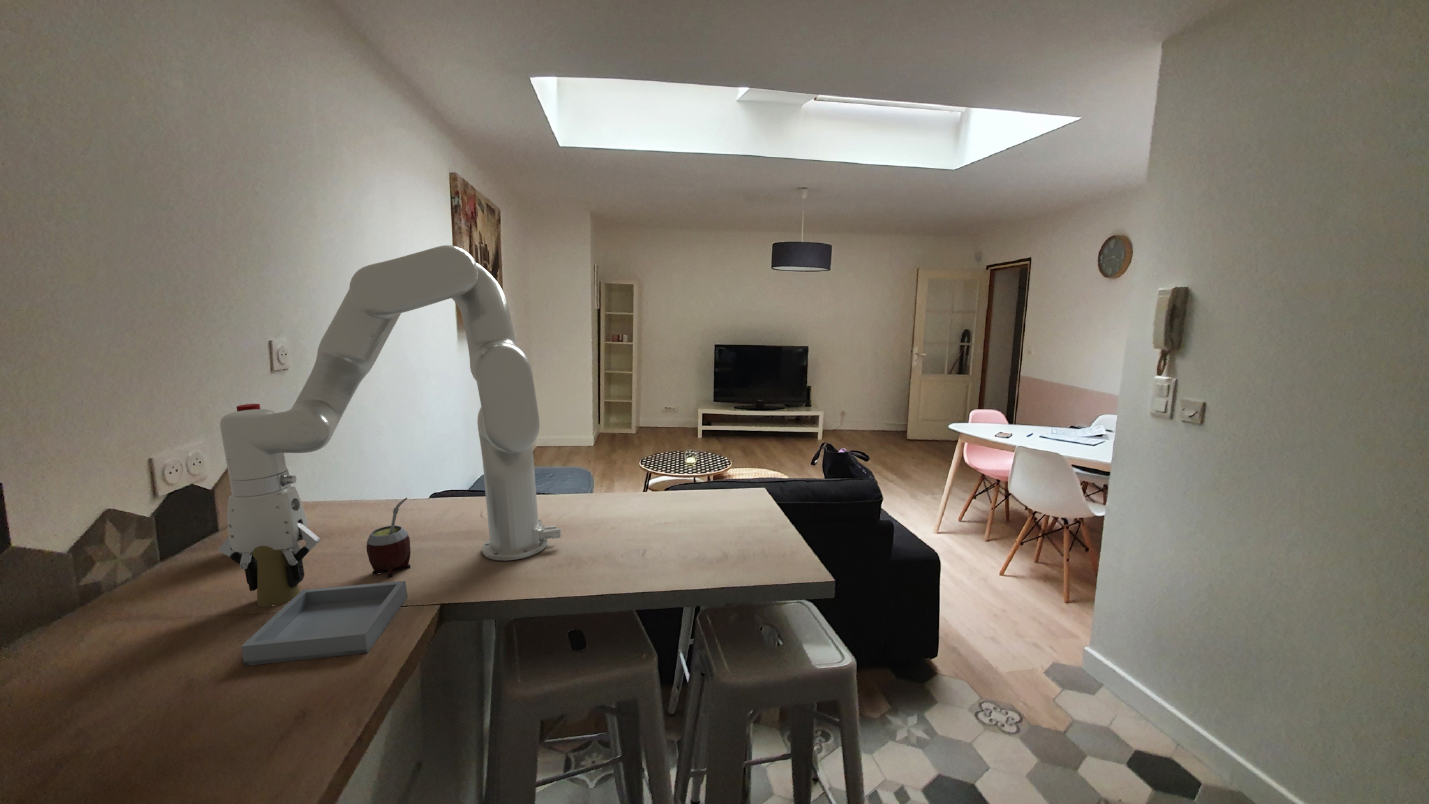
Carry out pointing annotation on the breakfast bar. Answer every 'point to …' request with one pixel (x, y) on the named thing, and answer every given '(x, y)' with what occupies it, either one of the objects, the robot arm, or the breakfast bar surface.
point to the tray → (326, 623)
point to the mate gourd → (389, 548)
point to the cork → (272, 577)
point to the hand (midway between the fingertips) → (277, 584)
